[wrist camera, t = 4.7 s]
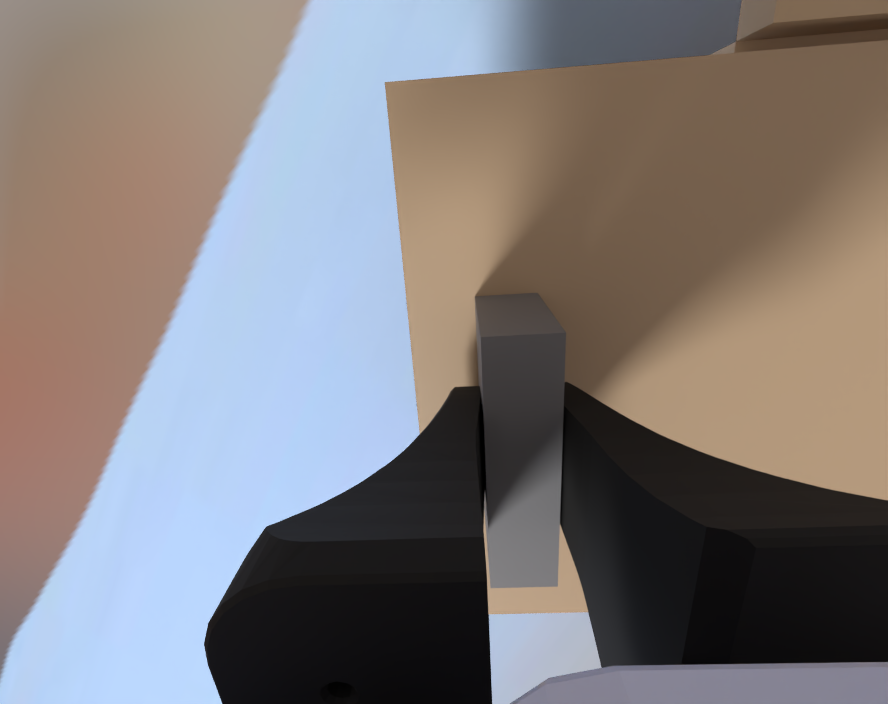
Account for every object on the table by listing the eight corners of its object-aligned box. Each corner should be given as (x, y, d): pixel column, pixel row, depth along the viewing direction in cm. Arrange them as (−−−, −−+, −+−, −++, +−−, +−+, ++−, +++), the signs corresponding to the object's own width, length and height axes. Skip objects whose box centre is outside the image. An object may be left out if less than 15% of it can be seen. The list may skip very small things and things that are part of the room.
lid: (924, 585, 14) (1073, 713, 11) (438, 596, 15) (433, 718, 12) (1165, 24, 9) (1611, -76, 5) (389, 88, 10) (352, 38, 6)
